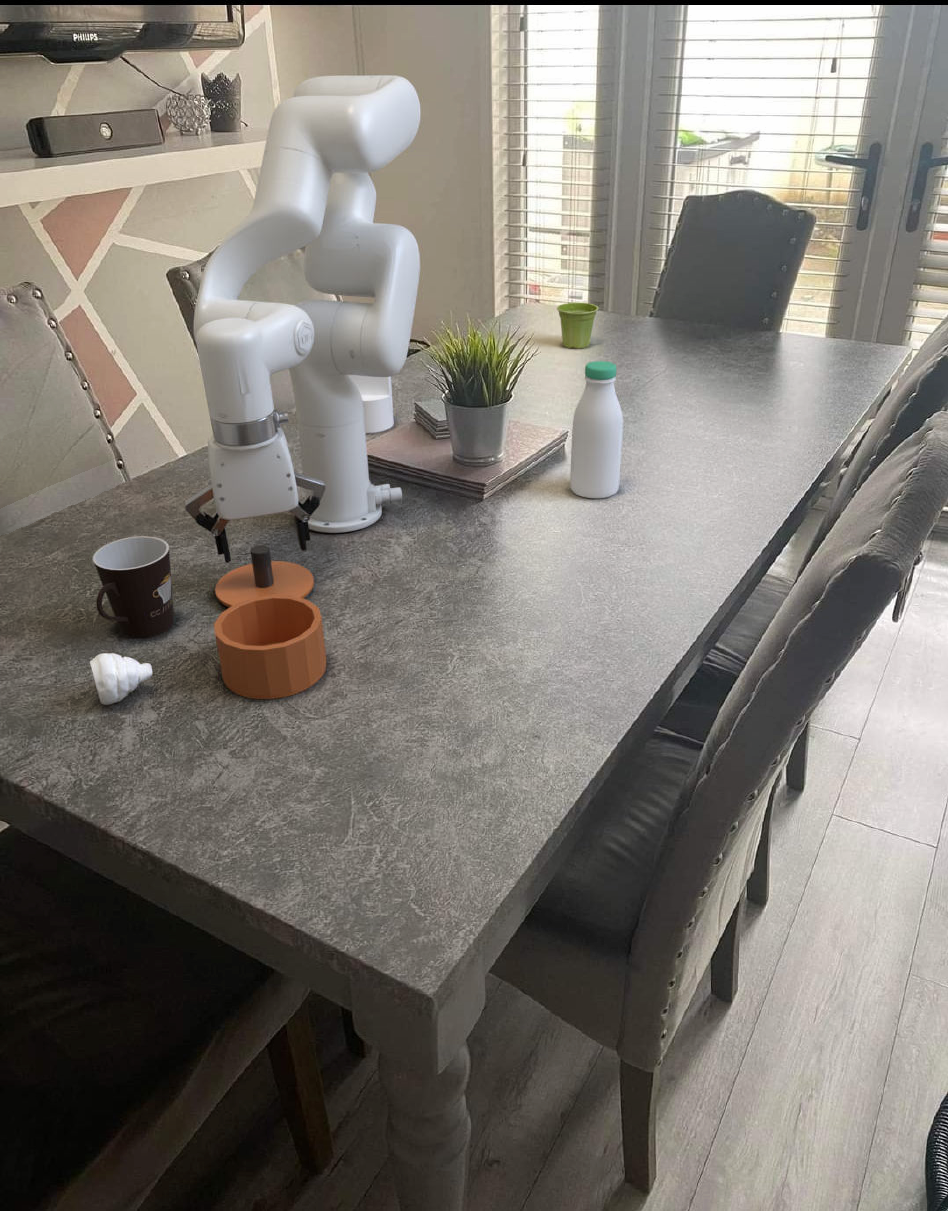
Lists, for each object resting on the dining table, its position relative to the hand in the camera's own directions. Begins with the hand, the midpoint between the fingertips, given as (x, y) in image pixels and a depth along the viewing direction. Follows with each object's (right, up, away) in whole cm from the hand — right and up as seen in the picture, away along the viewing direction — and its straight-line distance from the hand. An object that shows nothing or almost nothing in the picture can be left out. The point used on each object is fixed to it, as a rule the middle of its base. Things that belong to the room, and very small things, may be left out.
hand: (265, 551), depth 124 cm
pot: (+4, -14, -14) cm, 21 cm away
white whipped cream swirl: (-11, -17, -18) cm, 27 cm away
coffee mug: (-14, -10, -6) cm, 19 cm away
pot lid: (0, -5, +1) cm, 5 cm away
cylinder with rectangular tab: (+7, +27, +55) cm, 62 cm away
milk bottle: (+46, +11, +28) cm, 55 cm away
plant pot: (+51, +53, +99) cm, 124 cm away
